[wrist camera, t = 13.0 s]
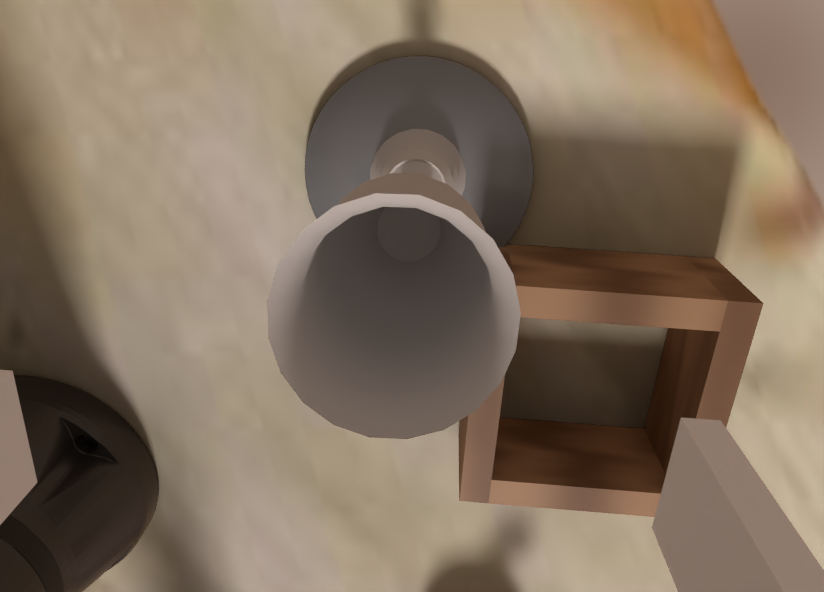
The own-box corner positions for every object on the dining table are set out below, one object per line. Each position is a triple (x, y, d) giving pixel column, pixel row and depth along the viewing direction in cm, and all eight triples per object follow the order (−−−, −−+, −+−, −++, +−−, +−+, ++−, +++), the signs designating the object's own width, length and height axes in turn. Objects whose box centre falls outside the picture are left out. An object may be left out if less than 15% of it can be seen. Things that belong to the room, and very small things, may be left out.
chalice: (365, 93, 32) (283, 166, 16) (497, 121, 33) (553, 222, 16) (343, 230, 35) (253, 414, 19) (465, 255, 35) (483, 459, 19)
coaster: (308, 271, 37) (306, 275, 37) (305, 48, 32) (303, 49, 32) (517, 286, 37) (518, 290, 36) (546, 63, 32) (548, 64, 31)
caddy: (458, 435, 41) (459, 500, 36) (477, 242, 36) (482, 283, 30) (664, 451, 41) (698, 520, 35) (715, 258, 35) (763, 303, 30)
